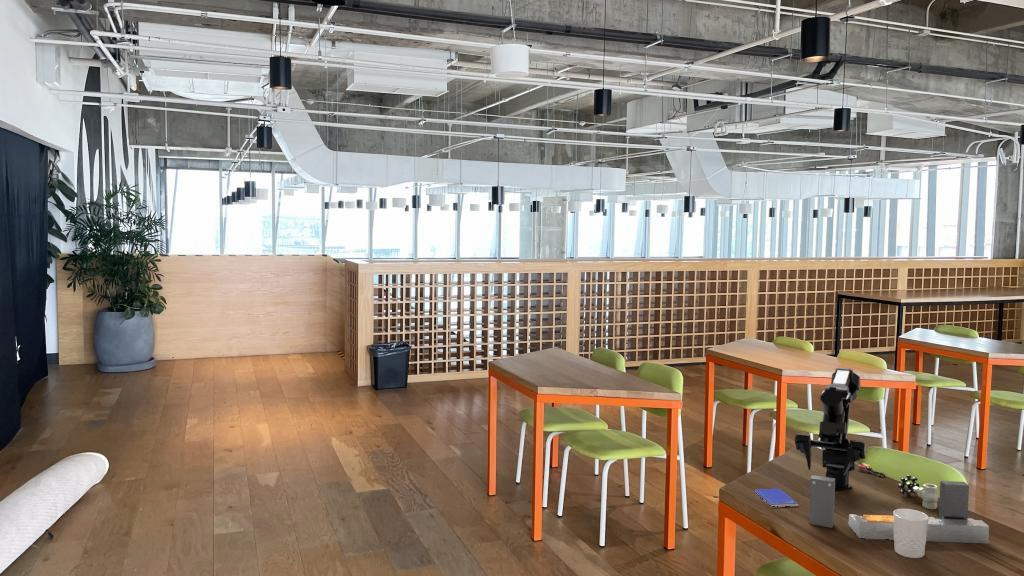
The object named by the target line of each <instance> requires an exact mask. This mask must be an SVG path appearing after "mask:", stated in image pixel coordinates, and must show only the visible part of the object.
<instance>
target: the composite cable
mask: <svg viewBox="0 0 1024 576" xmlns="http://www.w3.org/2000/svg"><path fill="white" fill-rule="evenodd" d="M857 466H858V468H857V469H858V470H857V471H858V472H863V473H866V474H870V473H873V474H875V475H878V474H880V475H879V476H881V475H883V476H886V474H885V473H883V472H880V471H875V470H873V468H872V466H871V465H870V464H869V463H868V464H867V463H865V462H861V464H857ZM873 474H872V475H873ZM875 475H874V476H875ZM883 476H882V477H881V478H884V477H883Z"/></svg>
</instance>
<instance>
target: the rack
mask: <svg viewBox="0 0 1024 576" xmlns="http://www.w3.org/2000/svg"><path fill="white" fill-rule="evenodd" d="M939 482H940V483H939V484H940V485H939V500H938V502H939V505H938V507H939V508H938V518H935V517H934V516H928V527H927V537H926V542H936V543H937V542H940V543H942V542H944V543H967V544H969V543H970V544H972V543H973V544H989V539H990V538H989V535H990V526H989V525H988V524H987V523H986V522H984V521H983V520H980V519H974V518H973V517H972V518H968V517H969V499H970V498H969V497H970V485H969V484H968V483H967V482H965V481H954V480H953V481H952V480H940V481H939ZM847 523H848V524H847V525H848V527H850V529H851V530H852V531H853V532H854V533H856V534H855V535H856V536H857V537H858V539H859V538H865V540H885V539H889V540H890V541H891V540H892V541H894V533H893V515H884V514H883V515H881V514H880V515H879V514H878V515H877V514H862V515H858V514H854V513H853V514H852V513H851V514H848V522H847ZM889 540H888V541H889Z"/></svg>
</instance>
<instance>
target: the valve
mask: <svg viewBox="0 0 1024 576" xmlns="http://www.w3.org/2000/svg"><path fill="white" fill-rule="evenodd" d="M905 476H906V478H905V477H901V478H900V481H901V483H898V484H897V487H898V488H899V489H901V490H899V492H900V494H901V495H904V496H905V495H906V496H907V497H911V496H912V495H911V494H917V496H918V497H919V498H921V499H922V502H921V503H922V505H921V506H922V507H923V508H924V507H925V509H926V508H927V509H926V510H933V509H935V510H936V509H937V508H938V502H939V495H938V493H939V486H938V485H936V484H934V483H933V484H932V483H924V484H923V486H922V487H920V484H919V483H917V481H918V478H917V477H915V476H913V477H912V475H910V474H907V475H905ZM909 481H910V482H909ZM906 488H907V489H908V490H906Z"/></svg>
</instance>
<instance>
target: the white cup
mask: <svg viewBox="0 0 1024 576" xmlns="http://www.w3.org/2000/svg"><path fill="white" fill-rule="evenodd" d="M892 513H893V514H892V516H893V533H894V540H893V542H894V543H893V544H894V545H893V546H894V547H893V548H894V552H895V553H896V554H898V555H900V556H902V557H905V558H911V559H920V558H923V557H925V551H926V544H927V541H926V537H927V527H928V517H929V515H927V514H926V513H925V512H922V511H920V510H915V509H912V508H897V509H894V510H893V512H892Z"/></svg>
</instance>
